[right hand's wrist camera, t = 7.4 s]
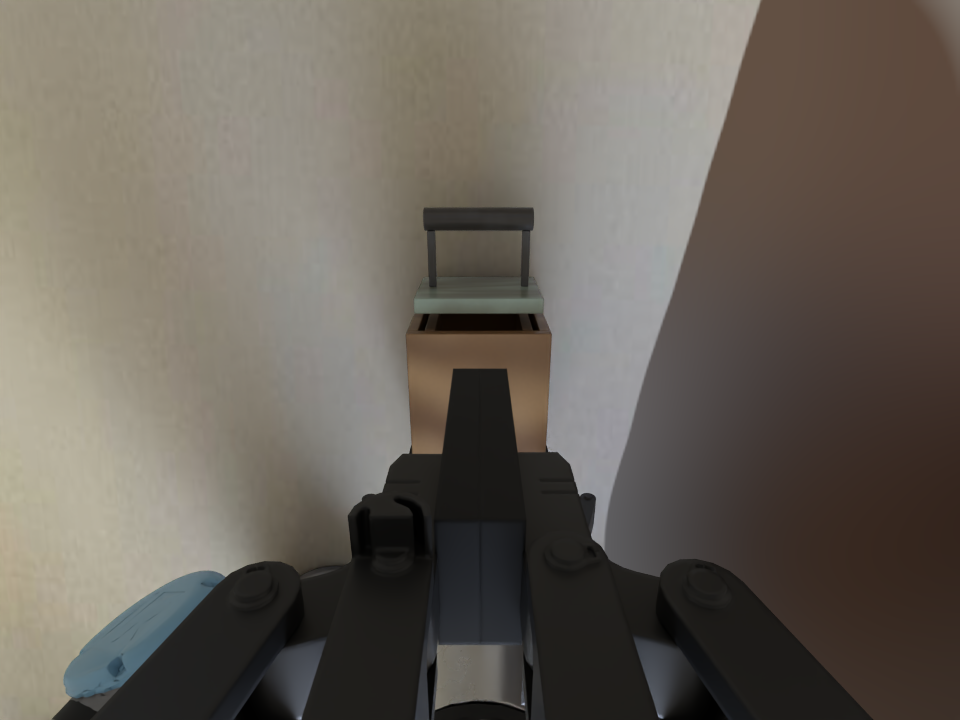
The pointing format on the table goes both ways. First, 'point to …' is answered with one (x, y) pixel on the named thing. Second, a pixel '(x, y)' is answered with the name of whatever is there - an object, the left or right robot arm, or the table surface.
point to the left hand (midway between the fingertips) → (478, 457)
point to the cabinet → (478, 350)
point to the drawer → (478, 297)
